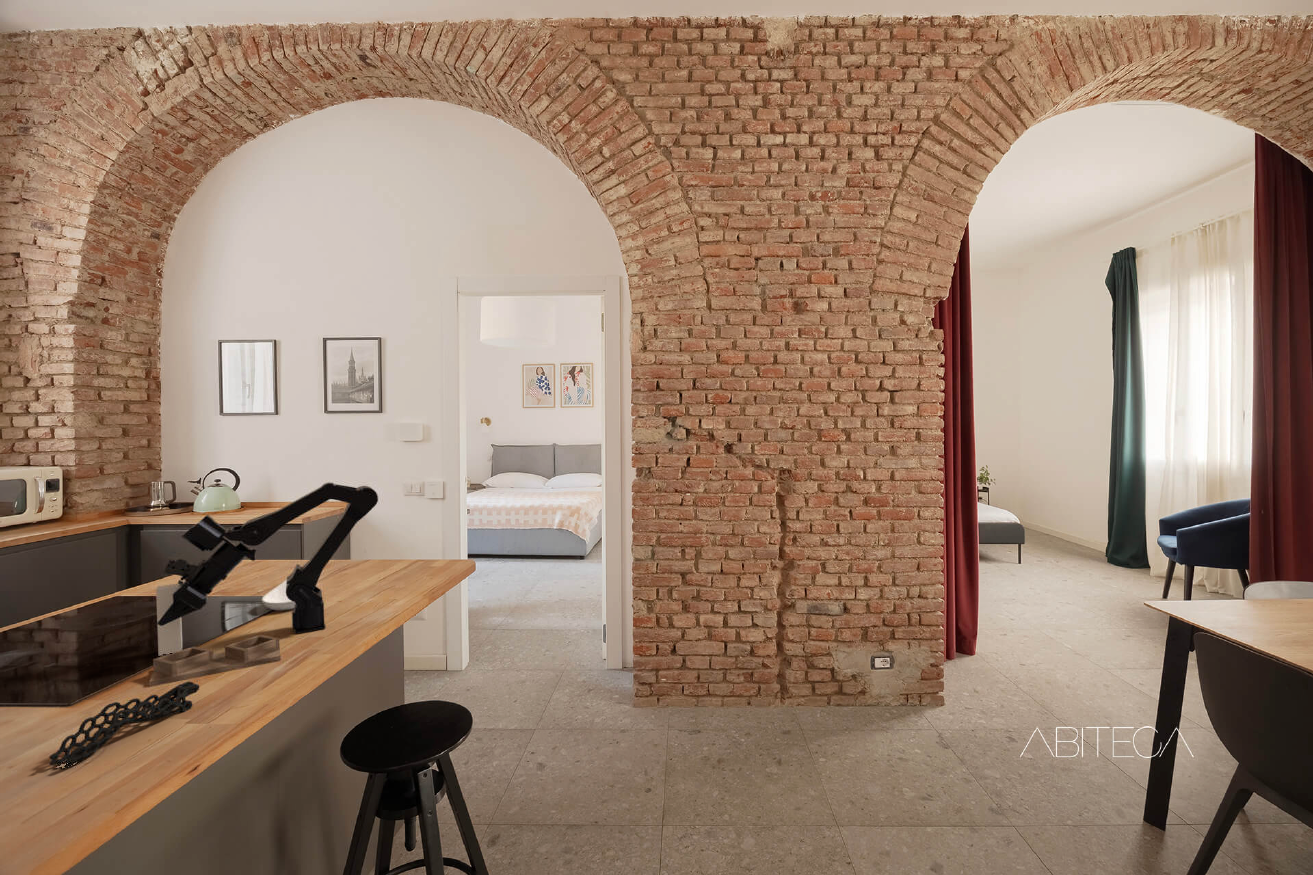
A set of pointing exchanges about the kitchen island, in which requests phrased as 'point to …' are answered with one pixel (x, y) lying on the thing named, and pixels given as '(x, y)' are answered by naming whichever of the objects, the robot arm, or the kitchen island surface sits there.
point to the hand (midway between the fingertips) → (161, 619)
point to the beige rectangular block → (171, 631)
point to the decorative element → (123, 721)
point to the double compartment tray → (214, 659)
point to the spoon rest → (278, 599)
